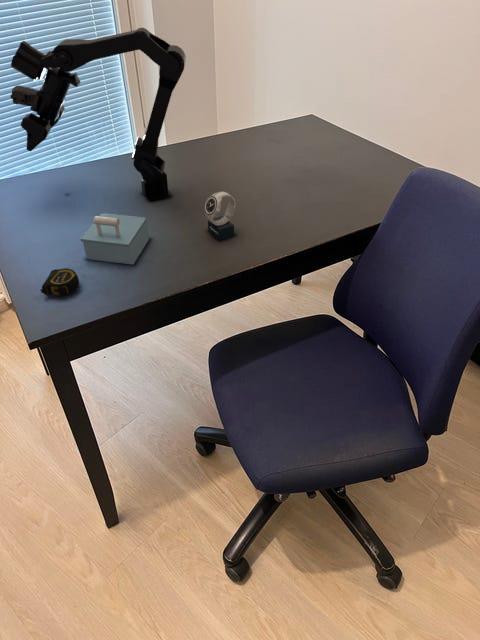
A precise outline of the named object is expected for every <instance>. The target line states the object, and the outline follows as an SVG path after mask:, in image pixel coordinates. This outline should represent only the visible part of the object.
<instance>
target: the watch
mask: <svg viewBox="0 0 480 640" xmlns="http://www.w3.org/2000/svg"><path fill="white" fill-rule="evenodd" d="M225 197H228V198H229V203H228V204H227V206H226V207H227V208H226V210H225V212H224V214H223V215H220V216H217V215H218V214H219V213H220V212H221V206H222V205H221V204H222V201H223V198H225ZM235 199H236V198H234V197H233V196H232V195H231V194H230V193H228V192H226V191H218V192H215V193H213V194H212V195H210V196H208V197H207V198H206V200H205V202H204V205H203V211H204V214H205V218H206V219H207V231H208V232H209V234H211V235H212V236H213V237H215V238H216V239H217V240H218V241H223V240H226V239H228V238H232V237H234V236H235V224H233V223H232V222H231V221H230V220H231V219H232V218H233V216H234V214H235V210H236V208H237V206H236V200H235ZM216 216H217V217H216Z"/></svg>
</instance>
